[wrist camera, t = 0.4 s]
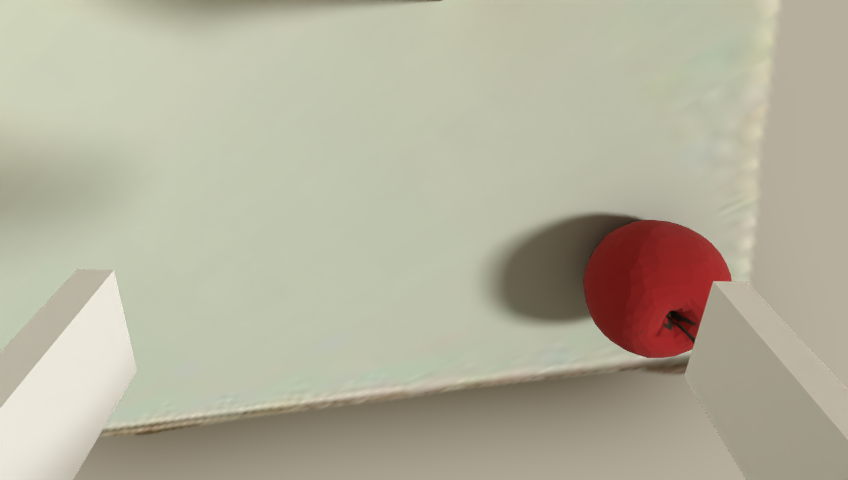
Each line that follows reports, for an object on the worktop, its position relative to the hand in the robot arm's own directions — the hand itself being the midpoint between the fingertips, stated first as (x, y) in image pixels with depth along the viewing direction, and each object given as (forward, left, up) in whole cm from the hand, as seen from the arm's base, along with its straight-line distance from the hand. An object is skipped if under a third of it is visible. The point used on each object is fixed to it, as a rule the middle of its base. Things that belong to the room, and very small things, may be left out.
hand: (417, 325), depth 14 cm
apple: (+13, +17, -28) cm, 35 cm away
